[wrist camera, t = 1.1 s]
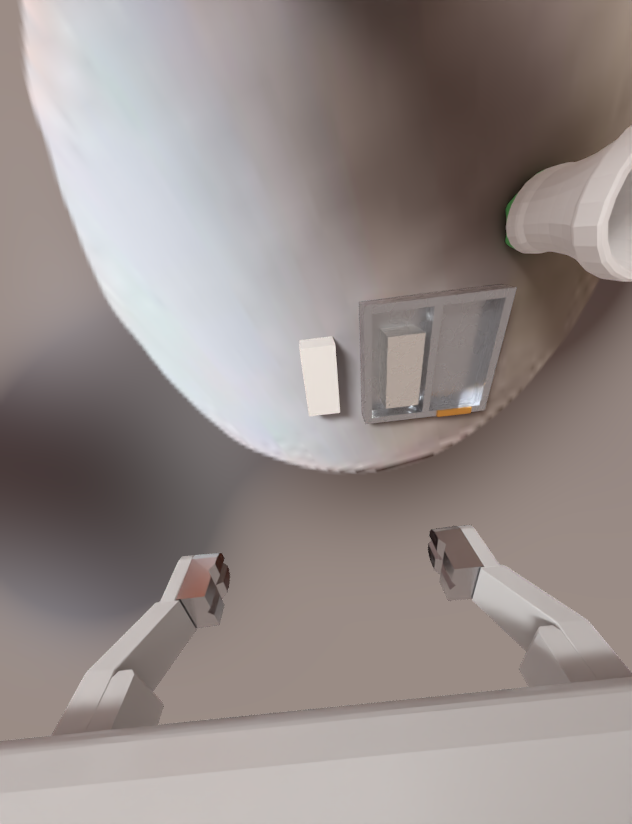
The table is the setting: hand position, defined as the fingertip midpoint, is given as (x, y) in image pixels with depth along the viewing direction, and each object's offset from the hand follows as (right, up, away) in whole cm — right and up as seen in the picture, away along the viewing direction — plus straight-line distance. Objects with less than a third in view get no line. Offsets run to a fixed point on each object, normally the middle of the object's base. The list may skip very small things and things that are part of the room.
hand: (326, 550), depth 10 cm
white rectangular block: (0, +11, +29) cm, 31 cm away
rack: (+15, +13, +28) cm, 34 cm away
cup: (+24, +28, +20) cm, 42 cm away
